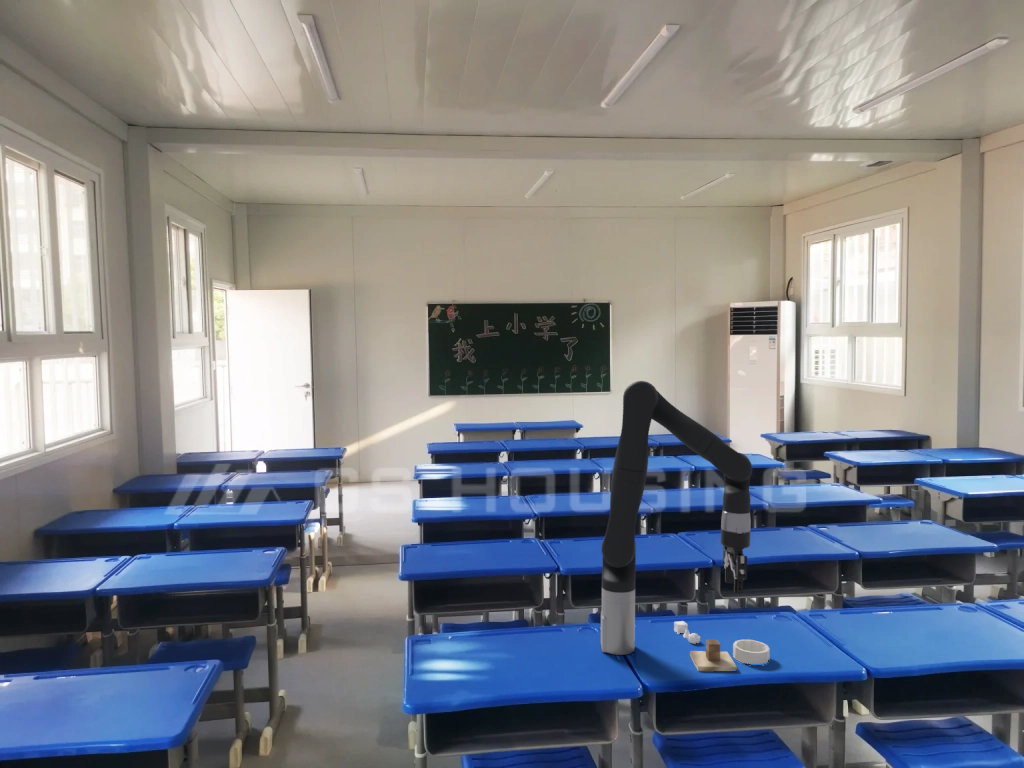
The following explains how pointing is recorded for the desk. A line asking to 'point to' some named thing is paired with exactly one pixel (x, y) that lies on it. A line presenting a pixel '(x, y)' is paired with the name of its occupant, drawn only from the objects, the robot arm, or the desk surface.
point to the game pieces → (686, 632)
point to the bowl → (751, 651)
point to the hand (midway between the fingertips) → (733, 587)
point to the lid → (712, 658)
